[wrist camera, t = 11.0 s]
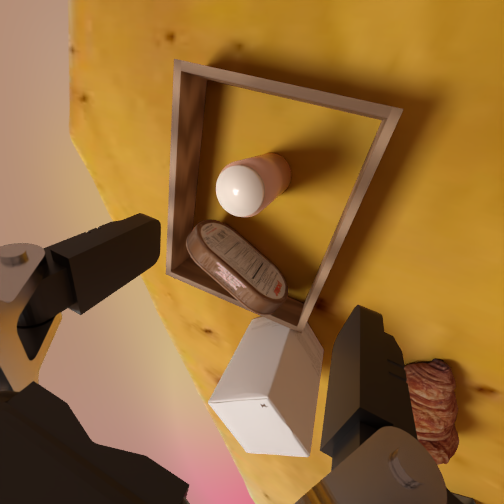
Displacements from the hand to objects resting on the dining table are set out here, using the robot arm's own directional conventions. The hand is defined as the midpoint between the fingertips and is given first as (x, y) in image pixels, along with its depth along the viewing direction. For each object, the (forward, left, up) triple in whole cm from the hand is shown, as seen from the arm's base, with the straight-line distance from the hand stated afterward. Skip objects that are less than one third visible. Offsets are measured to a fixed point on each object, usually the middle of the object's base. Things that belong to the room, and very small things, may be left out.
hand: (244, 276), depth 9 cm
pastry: (+28, +22, -23) cm, 42 cm away
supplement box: (+24, +3, -22) cm, 33 cm away
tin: (+12, -6, -22) cm, 26 cm away
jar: (+1, -5, -22) cm, 23 cm away
